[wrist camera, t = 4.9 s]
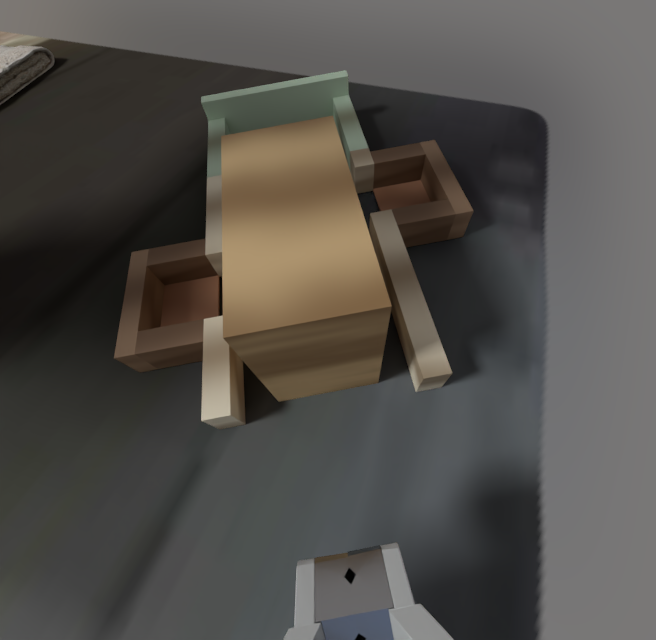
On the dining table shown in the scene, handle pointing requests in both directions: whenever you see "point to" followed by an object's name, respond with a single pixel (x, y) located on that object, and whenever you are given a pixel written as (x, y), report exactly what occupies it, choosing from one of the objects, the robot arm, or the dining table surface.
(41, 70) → the washcloth
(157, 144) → the dining table surface
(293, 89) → the end wall
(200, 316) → the lane
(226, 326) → the block
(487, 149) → the dining table surface
